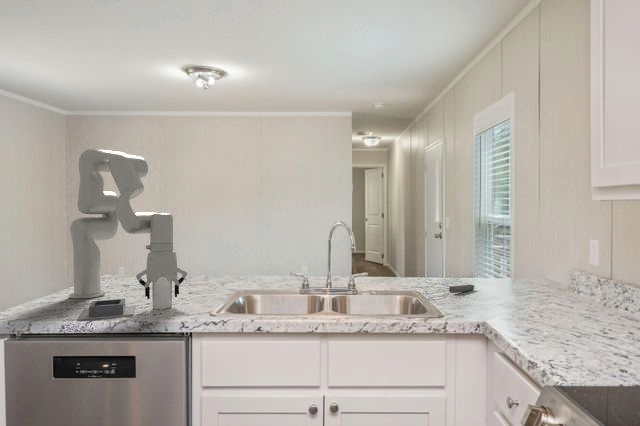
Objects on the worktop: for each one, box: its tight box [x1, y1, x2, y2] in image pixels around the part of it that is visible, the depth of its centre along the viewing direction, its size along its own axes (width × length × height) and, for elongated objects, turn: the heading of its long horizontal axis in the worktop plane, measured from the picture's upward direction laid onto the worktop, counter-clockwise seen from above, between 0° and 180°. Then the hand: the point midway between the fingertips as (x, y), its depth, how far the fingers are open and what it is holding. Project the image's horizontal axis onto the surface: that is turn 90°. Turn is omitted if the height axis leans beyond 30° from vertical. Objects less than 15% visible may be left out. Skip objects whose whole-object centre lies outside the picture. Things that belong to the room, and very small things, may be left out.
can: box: [151, 277, 173, 310], centre depth 149 cm, size 6×6×12 cm
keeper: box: [76, 298, 136, 322], centre depth 142 cm, size 14×16×4 cm
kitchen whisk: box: [422, 282, 476, 301], centre depth 169 cm, size 6×34×6 cm, turn 130°
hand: (162, 297), depth 149 cm, fingers open, 8 cm apart
